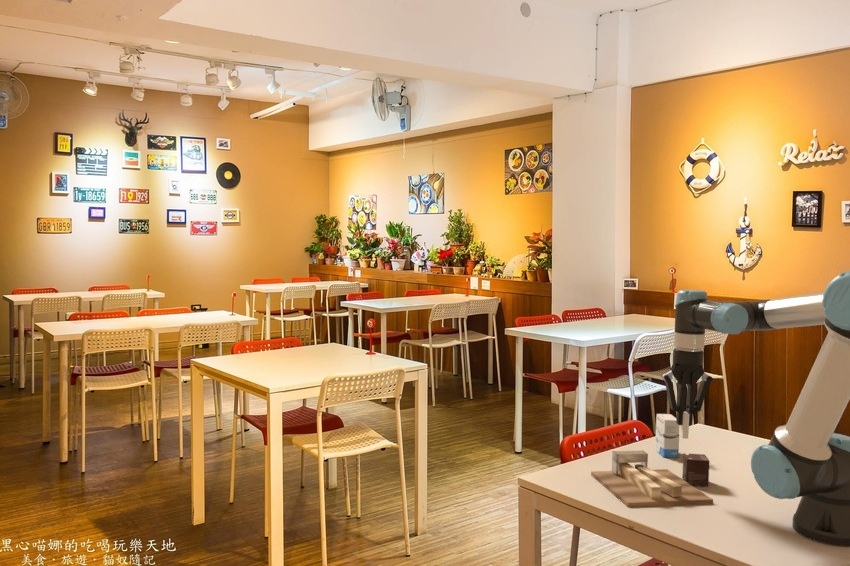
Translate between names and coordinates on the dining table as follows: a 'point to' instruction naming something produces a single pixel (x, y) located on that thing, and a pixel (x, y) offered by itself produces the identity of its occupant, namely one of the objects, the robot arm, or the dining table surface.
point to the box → (696, 469)
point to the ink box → (667, 435)
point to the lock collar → (628, 458)
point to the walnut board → (637, 498)
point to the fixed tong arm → (640, 480)
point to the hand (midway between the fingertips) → (683, 436)
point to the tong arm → (661, 481)
